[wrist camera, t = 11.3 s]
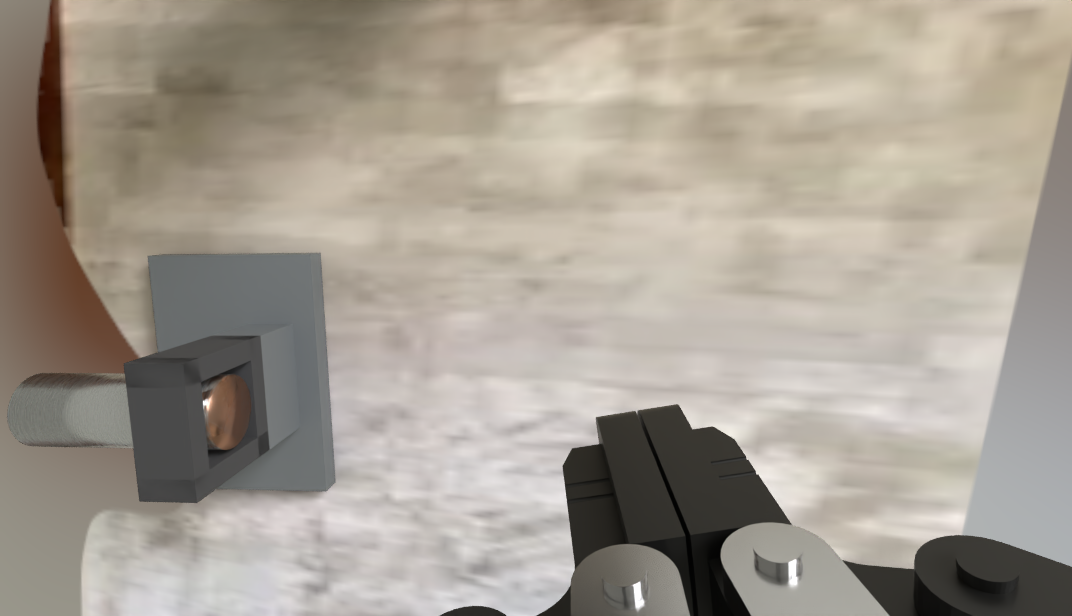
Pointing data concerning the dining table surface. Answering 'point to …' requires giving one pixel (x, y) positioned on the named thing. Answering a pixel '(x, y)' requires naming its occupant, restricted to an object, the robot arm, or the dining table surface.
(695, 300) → the dining table surface
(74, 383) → the steel peg
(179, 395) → the rubber collar
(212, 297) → the base plate
